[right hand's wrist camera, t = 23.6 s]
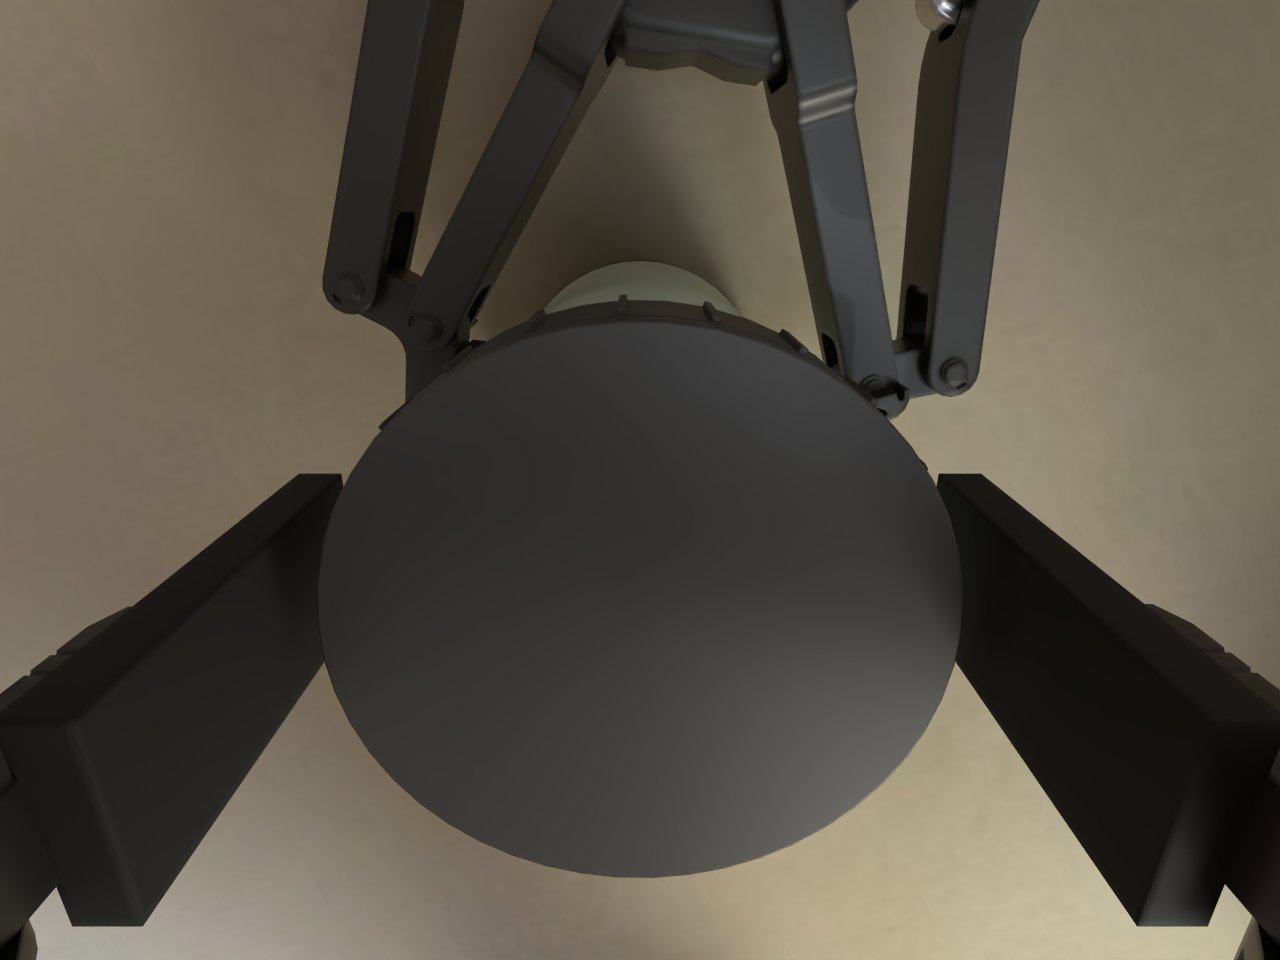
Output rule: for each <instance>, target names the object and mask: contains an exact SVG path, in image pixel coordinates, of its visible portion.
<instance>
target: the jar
mask: <svg viewBox="0 0 1280 960" xmlns="http://www.w3.org/2000/svg"><path fill="white" fill-rule="evenodd" d="M620 295H627V300H663V301H672V302H678V303H685V304H692V305H698V306H703V303H704V301H707V302H711V303H712V305H713V306H714V308H715V309H716V310H719V311H723V312H726V313H729V314H733V315H736V316H740V317H743V316H742V315H741V314H740V313H739V312H738V311H737V310H736V309H735V308H734V306H733V305H732V304H731V303H730V302H729V301H728V300H727V299H726V298H725V297H724V296H723V295H722V294H721V293H720V292H719V291H718V290H717V289H716V288H715V287H713V286H712V285H710V284H709V283H708V282H706V281H705V280H703V279H702V278H700V277H698V276H696V275H694V274H692V273H690V272H689V271H686V270H683V269H681V268H678V267H675V266H672V265H667V264H663V263H658V262H647V261H634V262H622V263H617V264H612V265H608V266H605V267H602V268H599V269H596V270H594V271H592V272H590V273H588V274H586V275H584V276H582V277H580V278H578V279H577V280H575V281H574V282H572V283H571V284H570V285H568V286H567V287H565V288H564V289H563V290H562V291H561V292H560V293H559V294H558V295H557V296H556V297H555V298H554V299H553V300H552V301H551V302H550V303H549V304H548V305H547V306H546V307H545V309H544V311H545V313H546V314H549V313H553V312H557V311H561V310H565V309H569V308H572V307H576V306H580V305H585V304H594V303H602V302H611V301H618V300H619V296H620Z"/></svg>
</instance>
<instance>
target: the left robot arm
mask: <svg viewBox="0 0 1280 960" xmlns="http://www.w3.org/2000/svg"><path fill="white" fill-rule="evenodd" d="M857 1H858V0H553V2H552V4H551V6H550V8H549V10H548V12H547V14H546V16H545V18H544V20H543V22H542V24H541V26H540V29H539V31H538V33H537V36H536V39H535V43H534V48H533V52H532V55H531V57H530V60H529V62H528V64H527V66H526V68H525V70H524V72H523V74H522V76H521V78H520V80H519V82H518V84H517V86H516V88H515V90H514V92H513V94H512V96H511V98H510V100H509V102H508V104H507V106H506V108H505V110H504V112H503V114H502V116H501V118H500V120H499V122H498V124H497V126H496V128H495V130H494V132H493V134H492V136H491V139H490V141H489V143H488V145H487V147H486V149H485V151H484V153H483V155H482V157H481V159H480V161H479V163H478V165H477V167H476V169H475V171H474V173H473V175H472V177H471V179H470V181H469V183H468V185H467V187H466V189H465V191H464V193H463V195H462V197H461V199H460V201H459V203H458V205H457V207H456V209H455V211H454V213H453V215H452V217H451V219H450V221H449V223H448V225H447V227H446V229H445V231H444V233H443V235H442V237H441V239H440V241H439V243H438V245H437V247H436V249H435V251H434V253H433V255H432V257H431V259H430V261H429V263H428V265H427V267H426V269H425V271H424V273H423V275H422V276H420V275H418V274H416V273H414V272H412V271H410V266H411V261H412V256H413V251H414V246H415V241H416V237H417V232H418V227H419V222H420V217H421V212H422V207H423V203H424V198H425V193H426V188H427V183H428V178H429V173H430V169H431V164H432V159H433V154H434V149H435V144H436V139H437V135H438V130H439V125H440V120H441V115H442V110H443V105H444V101H445V96H446V91H447V86H448V81H449V76H450V71H451V67H452V62H453V57H454V52H455V47H456V42H457V37H458V33H459V28H460V23H461V18H462V13H463V6H464V0H368V5H367V11H366V17H365V24H364V30H363V36H362V42H361V48H360V54H359V60H358V66H357V72H356V78H355V84H354V91H353V97H352V103H351V109H350V115H349V121H348V127H347V133H346V139H345V145H344V151H343V157H342V164H341V170H340V176H339V182H338V188H337V194H336V200H335V206H334V212H333V218H332V224H331V231H330V237H329V243H328V249H327V255H326V261H325V267H324V273H323V279H322V280H323V291H324V294H325V296H326V299H327V300H328V302H329V303H330V304H331V305H332V306H333V307H334V308H335V309H337V310H339V311H341V312H343V313H346V314H354V315H355V314H360V315H362V316H364V317H366V318H368V319H370V320H372V321H374V322H376V323H378V324H380V325H382V326H384V327H386V328H387V329H389V330H390V331H392V332H393V333H394V334H395V335H396V336H397V337H398V338H399V340H400V341H401V343H402V345H403V347H404V350H405V353H406V397H405V403H406V402H407V401H408V400H409V399H410V398H411V397H414V398H415V397H416V396H417V395H418V394H419V393H421V392H422V391H423V390H424V389H425V388H426V387H427V386H429V385H430V384H431V383H432V382H433V381H434V380H436V379H437V378H438V377H439V376H440V375H441V374H443V373H444V372H443V371H442V369H441V368H442V367H443V366H444V365H446V364H447V363H448V362H449V361H450V360H452V359H453V358H454V357H455V356H456V355H458V354H459V353H460V352H461V351H462V350H464V349H465V348H466V347H468V346H469V345H471V346H472V347H473V349H475V348H477V347H478V346H480V345H482V344H483V343H485V342H486V341H479V340H472V341H471V342H470V343H469V336H470V329H471V328H472V327H473V326H474V325H475V324H476V323H477V321H478V320H477V319H476V317H477V315H478V313H479V311H480V310H481V308H482V306H483V304H484V302H485V300H486V298H487V296H488V295H489V293H490V291H491V289H492V287H493V285H494V283H495V282H496V280H497V278H498V276H499V274H500V272H501V270H502V268H503V267H504V265H505V263H506V261H507V259H508V257H509V255H510V253H511V252H512V250H513V248H514V246H515V244H516V242H517V240H518V238H519V237H520V235H521V233H522V231H523V229H524V227H525V225H526V223H527V222H528V220H529V218H530V216H531V214H532V212H533V210H534V208H535V207H536V205H537V203H538V201H539V199H540V197H541V195H542V193H543V192H544V190H545V188H546V186H547V184H548V182H549V180H550V178H551V177H552V175H553V173H554V171H555V169H556V167H557V165H558V163H559V162H560V160H561V158H562V156H563V154H564V152H565V150H566V149H567V147H568V145H569V143H570V141H571V139H572V137H573V135H574V134H575V132H576V130H577V128H578V126H579V124H580V122H581V120H582V119H583V117H584V115H585V113H586V111H587V109H588V108H589V106H590V104H591V103H592V101H593V100H594V99H595V98H596V96H597V95H598V93H599V91H600V90H601V88H602V86H603V84H604V82H605V81H606V79H607V77H608V75H609V73H610V71H611V69H612V67H613V66H614V64H615V62H616V60H617V58H618V57H620V58H622V59H624V60H625V64H626V66H632V67H639V68H645V69H651V70H665V69H672V68H679V67H686V66H694V67H696V68H698V69H701V70H703V71H705V72H707V73H709V74H711V75H713V76H715V77H717V78H719V79H721V80H723V81H727V82H733V83H740V84H746V85H752V86H756V85H757V84H758V83H759V82H760V81H763V83H764V88H765V93H766V98H767V103H768V108H769V113H770V117H771V120H772V123H773V126H774V128H775V130H776V132H777V135H778V139H779V143H780V148H781V153H782V158H783V163H784V168H785V173H786V178H787V183H788V188H789V193H790V198H791V203H792V209H793V214H794V219H795V224H796V229H797V234H798V239H799V244H800V249H801V254H802V259H803V264H804V269H805V274H806V279H807V284H808V289H809V294H810V299H811V304H812V309H813V314H814V319H815V324H816V329H817V334H818V339H819V344H820V349H821V354H822V359H823V362H824V363H825V364H826V365H827V366H828V367H829V368H831V369H832V370H833V371H834V372H835V373H837V374H838V375H839V376H840V377H841V378H842V379H843V378H844V377H845V376H846V375H848V376H849V377H850V378H851V379H853V380H854V381H855V382H856V383H857V384H859V385H860V386H861V387H862V388H863V389H865V390H866V391H867V392H868V393H869V394H871V395H872V396H873V397H874V398H875V399H876V400H877V401H878V402H879V404H878V405H877V406H876V408H877V409H878V410H879V411H880V412H881V413H883V414H884V416H885V417H886V418H887V419H888V420H891V419H893V418H895V417H897V416H898V415H899V414H900V413H901V412H902V411H903V410H904V409H905V408H906V406H907V404H908V401H909V399H911V398H916V397H921V396H926V395H931V394H936V393H939V394H940V395H942V396H949V397H953V396H957V395H961V394H963V393H964V392H966V391H967V390H969V389H970V388H971V387H972V385H973V384H974V383H975V381H976V379H977V376H978V373H979V368H980V361H981V353H982V345H983V338H984V330H985V322H986V315H987V307H988V299H989V291H990V284H991V276H992V268H993V261H994V253H995V245H996V238H997V230H998V222H999V215H1000V207H1001V199H1002V192H1003V184H1004V176H1005V169H1006V161H1007V153H1008V145H1009V138H1010V130H1011V122H1012V115H1013V107H1014V99H1015V92H1016V84H1017V76H1018V69H1019V61H1020V53H1021V46H1022V40H1023V37H1024V35H1025V33H1026V30H1027V28H1028V26H1029V24H1030V21H1031V19H1032V17H1033V15H1034V12H1035V10H1036V8H1037V6H1038V3H1039V1H1040V0H916V3H915V5H916V13H917V16H918V18H919V21H920V22H921V23H922V24H923V26H924V27H926V28H927V29H929V30H931V32H930V35H929V38H928V41H927V44H926V48H925V52H924V57H923V61H922V65H921V72H920V79H919V86H918V97H917V108H916V120H915V131H914V143H913V154H912V166H911V178H910V189H909V201H908V212H907V224H906V235H905V247H904V258H903V270H902V281H901V293H900V305H899V316H898V328H897V339H896V340H892V337H891V331H890V324H889V318H888V312H887V306H886V300H885V294H884V288H883V281H882V275H881V269H880V263H879V257H878V251H877V244H876V238H875V232H874V226H873V220H872V214H871V208H870V201H869V195H868V189H867V183H866V177H865V171H864V165H863V158H862V152H861V146H860V140H859V134H858V128H857V121H856V115H855V99H856V93H857V78H856V70H855V63H854V57H853V51H852V44H851V38H850V32H849V26H848V19H847V12H848V11H849V10H850V9H851V8H852V7H853V6H854V5H855V4H856V3H857Z"/></svg>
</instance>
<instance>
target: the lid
mask: <svg viewBox="0 0 1280 960" xmlns="http://www.w3.org/2000/svg"><path fill="white" fill-rule="evenodd" d="M441 369H442V371H443V372H444V373H443V374H441V375H440V376H439V377H438V378H437V379H436V380H434V381H433V382H432V383H431V384H430V385H429V386H427V387H426V388H425V389H424V390H423V391H422V392H421V393H419V394H418V395H417V396H416V397H415V398H414V397H411V398H410V399H409V400H408V401H407V402H406V403H404V404H403V405H402V406H401V407H400V408H399V409H397V410H396V411H395V412H394V413H393V414H392V415H390V416H389V417H388V418H387V419H386V420H385V421H383V422H382V423H381V425H380V426H379V429H381V430H382V431H381V432H380V433H379V434H378V435H377V436H376V437H375V438H374V440H373V441H372V442H371V444H370V445H369V447H368V448H367V450H366V451H365V453H364V454H363V456H362V457H361V458H360V460H359V461H358V463H357V464H356V466H355V467H354V469H353V470H352V471H351V473H350V475H349V477H348V479H347V481H346V483H345V485H344V487H343V489H342V491H341V493H340V496H339V498H338V500H337V502H336V504H335V506H334V508H333V511H332V514H331V517H330V521H329V524H328V527H327V531H326V534H325V537H324V541H323V544H322V548H321V555H320V563H319V570H318V577H317V623H318V629H319V635H320V641H321V647H322V652H323V658H324V661H325V664H326V667H327V670H328V673H329V676H330V679H331V682H332V685H333V689H334V692H335V694H336V696H337V698H338V700H339V702H340V704H341V706H342V708H343V710H344V712H345V714H346V716H347V718H348V720H349V722H350V724H351V725H352V727H353V728H354V730H355V731H356V733H357V734H358V736H359V737H360V739H361V740H362V742H363V743H364V745H365V746H366V748H367V749H368V751H369V752H370V754H371V755H372V756H373V757H374V758H375V759H376V761H377V762H378V763H379V764H380V765H381V766H382V767H383V769H384V770H385V771H386V772H387V773H388V774H389V775H390V777H391V778H392V779H393V780H394V781H395V782H396V783H397V784H399V785H400V786H401V787H402V788H403V789H404V790H405V791H406V792H407V793H409V794H410V795H411V796H412V797H413V798H414V799H415V800H416V801H417V802H419V803H420V804H421V805H423V806H424V807H425V808H427V809H428V810H430V811H431V812H432V813H434V814H435V815H437V816H438V817H439V818H441V819H442V820H444V821H445V822H446V823H448V824H449V825H451V826H453V827H455V828H457V829H458V830H460V831H462V832H464V833H466V834H467V835H469V836H471V837H473V838H474V839H476V840H478V841H480V842H482V843H485V844H487V845H489V846H492V847H494V848H496V849H499V850H501V851H503V852H506V853H508V854H510V855H513V856H516V857H519V858H522V859H525V860H529V861H532V862H535V863H538V864H541V865H545V866H548V867H553V868H558V869H563V870H568V871H573V872H577V873H582V874H592V875H601V876H610V877H637V878H656V877H668V876H679V875H690V874H696V873H701V872H707V871H712V870H718V869H723V868H727V867H731V866H734V865H738V864H741V863H745V862H748V861H752V860H755V859H758V858H761V857H764V856H766V855H769V854H771V853H774V852H776V851H779V850H781V849H784V848H786V847H789V846H791V845H793V844H795V843H797V842H799V841H801V840H803V839H805V838H807V837H809V836H811V835H812V834H814V833H816V832H818V831H820V830H822V829H824V828H825V827H827V826H828V825H830V824H831V823H833V822H834V821H836V820H837V819H839V818H840V817H842V816H843V815H845V814H846V813H848V812H849V811H851V810H852V809H854V808H855V807H856V806H857V805H858V804H860V803H861V802H862V801H863V800H864V799H865V798H867V797H868V796H869V795H870V794H871V793H872V792H874V791H875V790H876V789H877V788H878V787H879V786H881V785H882V783H883V782H884V781H885V780H886V779H887V778H888V777H889V776H890V775H891V774H892V773H893V772H894V770H895V769H896V768H897V767H898V766H899V765H900V764H901V763H902V762H903V761H904V760H905V758H906V757H907V756H908V754H909V753H910V751H911V750H912V749H913V747H914V746H915V744H916V743H917V742H918V740H919V739H920V737H921V736H922V735H923V733H924V732H925V730H926V728H927V726H928V725H929V723H930V721H931V719H932V717H933V715H934V713H935V711H936V710H937V708H938V706H939V704H940V702H941V700H942V698H943V695H944V692H945V690H946V687H947V684H948V681H949V679H950V676H951V673H952V670H953V667H954V664H955V659H956V654H957V650H958V645H959V640H960V635H961V630H962V611H963V583H962V573H961V564H960V554H959V551H958V547H957V543H956V539H955V535H954V532H953V528H952V524H951V520H950V517H949V515H948V512H947V510H946V508H945V506H944V503H943V501H942V499H941V496H940V494H939V492H938V490H937V487H936V485H935V483H934V481H933V479H932V478H931V476H930V474H929V473H928V471H927V470H928V468H927V466H926V464H925V463H924V462H923V461H922V460H921V459H920V458H919V457H918V456H917V454H916V453H915V451H914V449H913V448H912V446H911V445H910V444H909V443H908V442H907V441H906V439H905V438H904V437H903V436H902V435H901V434H900V433H899V431H898V430H897V429H896V428H895V427H894V426H893V425H892V424H891V422H890V421H889V420H888V419H887V418H886V417H885V416H884V414H883V413H881V412H880V411H879V410H878V409H877V408H876V406H877V405H878V404H879V402H878V401H877V400H876V399H875V398H874V397H873V396H872V395H871V394H869V393H868V392H867V391H866V390H865V389H863V388H862V387H861V386H860V385H859V384H857V383H856V382H855V381H854V380H853V379H851V378H850V377H849V376H848V375H846V376H845V377H844V378H843V379H842V378H841V377H840V376H839V375H838V374H837V373H835V372H834V371H833V370H832V369H831V368H829V367H828V366H827V365H826V364H825V363H824V362H822V361H821V360H820V359H819V358H818V357H816V356H815V355H814V354H812V353H811V352H809V351H808V349H807V348H806V347H805V346H804V345H803V344H801V343H800V342H799V341H798V340H797V339H796V338H795V337H793V336H792V335H791V334H790V333H789V332H788V331H786V330H784V329H782V330H781V332H780V333H777V332H775V331H773V330H771V329H768V328H766V327H764V326H762V325H759V324H757V323H755V322H753V321H751V320H748V319H746V318H743V317H740V316H736V315H733V314H729V313H726V312H723V311H719V310H716V309H715V308H714V306H713V305H712V303H711V302H707V301H704V303H703V306H698V305H692V304H685V303H678V302H672V301H663V300H627V295H620V296H619V300H618V301H611V302H602V303H594V304H585V305H580V306H576V307H572V308H569V309H565V310H561V311H557V312H553V313H549V314H546V313H545V311H544V310H540V311H538V312H537V313H536V314H535V315H534V316H533V317H532V318H531V319H530V320H529V321H528V322H525V323H523V324H520V325H518V326H515V327H513V328H510V329H508V330H506V331H504V332H502V333H501V334H499V335H497V336H495V337H494V338H492V339H490V340H489V341H487V342H485V343H483V344H482V345H480V346H478V347H477V348H475V349H473V347H472V346H471V345H469V346H468V347H466V348H465V349H464V350H462V351H461V352H460V353H459V354H458V355H456V356H455V357H454V358H453V359H452V360H450V361H449V362H448V363H447V364H446V365H444V366H443V367H442V368H441Z"/></svg>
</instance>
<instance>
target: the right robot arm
mask: <svg viewBox="0 0 1280 960" xmlns="http://www.w3.org/2000/svg"><path fill="white" fill-rule="evenodd" d="M342 489H343V481H342V475H341V474H298V475H297V476H296V477H294V478H293V479H292V480H291V481H289V482H288V483H287V484H286V485H284V486H283V487H282V488H281V489H279V490H278V491H277V492H276V493H274V494H273V495H272V496H270V497H269V498H268V499H267V500H265V501H264V502H263V503H262V504H260V505H259V506H258V507H257V508H255V509H254V510H253V511H252V512H250V513H249V514H248V515H247V516H245V517H244V518H243V519H242V520H240V521H239V522H238V523H237V524H235V525H234V526H233V527H232V528H230V529H229V530H228V531H227V532H225V533H224V534H223V535H222V536H220V537H219V538H218V539H217V540H215V541H214V542H213V543H212V544H210V545H209V546H208V547H207V548H205V549H204V550H203V551H202V552H200V553H199V554H198V555H197V556H195V557H194V558H193V559H192V560H190V561H189V562H188V563H187V564H185V565H184V566H183V567H182V568H180V569H179V570H178V571H177V572H175V573H174V574H173V575H171V576H170V577H169V578H168V579H166V580H165V581H164V582H163V583H161V584H160V585H159V586H158V587H156V588H155V589H154V590H153V591H151V592H150V593H149V594H148V595H146V596H145V597H144V598H143V599H141V600H140V601H139V602H138V603H136V604H135V605H134V606H133V607H127V608H125V609H123V610H121V611H118V612H116V613H114V614H112V615H110V616H108V617H106V618H104V619H102V620H100V621H98V622H96V623H94V624H92V625H90V626H88V627H87V628H85V629H84V630H83V631H81V632H80V633H79V634H78V635H76V636H75V637H74V638H72V639H71V640H70V641H68V642H67V643H66V644H65V645H63V646H62V647H61V648H59V649H58V650H57V654H56V655H50V656H49V657H48V658H46V659H45V660H44V661H42V662H41V663H40V664H39V665H37V666H36V667H35V668H33V669H32V670H31V674H30V676H23V677H22V678H20V679H19V680H18V681H16V682H15V683H14V684H13V685H11V686H10V687H9V688H7V689H6V690H5V691H3V692H2V693H1V694H0V960H36V956H37V950H38V949H37V943H36V937H35V932H34V930H33V928H32V925H31V923H30V921H29V918H30V917H31V916H32V914H33V913H34V912H35V911H36V910H37V909H38V907H39V906H40V905H41V904H42V903H43V902H44V900H45V899H46V898H47V897H48V896H49V895H50V893H51V892H52V891H53V890H54V889H55V887H57V890H58V892H59V895H60V897H61V900H62V902H63V904H64V907H65V909H66V912H67V914H68V917H69V919H70V922H71V924H72V926H143V925H144V924H145V922H146V921H147V919H148V918H149V917H150V915H151V914H152V912H153V911H154V909H155V908H156V906H157V905H158V903H159V902H160V900H161V899H162V898H163V896H164V895H165V893H166V892H167V890H168V889H169V887H170V886H171V884H172V883H173V882H174V880H175V879H176V877H177V876H178V874H179V873H180V871H181V870H182V868H183V867H184V865H185V864H186V863H187V861H188V860H189V858H190V857H191V855H192V854H193V852H194V851H195V849H196V848H197V847H198V845H199V844H200V842H201V841H202V839H203V838H204V836H205V835H206V833H207V832H208V831H209V829H210V828H211V826H212V825H213V823H214V822H215V820H216V819H217V817H218V816H219V814H220V813H221V812H222V810H223V809H224V807H225V806H226V804H227V803H228V801H229V800H230V798H231V797H232V796H233V794H234V793H235V791H236V790H237V788H238V787H239V785H240V784H241V782H242V781H243V780H244V778H245V777H246V775H247V774H248V772H249V771H250V769H251V768H252V766H253V765H254V763H255V762H256V761H257V759H258V758H259V756H260V755H261V753H262V752H263V750H264V749H265V747H266V746H267V745H268V743H269V742H270V740H271V739H272V737H273V736H274V734H275V733H276V731H277V730H278V729H279V727H280V726H281V724H282V723H283V721H284V720H285V718H286V717H287V715H288V714H289V712H290V711H291V710H292V708H293V707H294V705H295V704H296V702H297V701H298V699H299V698H300V696H301V695H302V694H303V692H304V691H305V689H306V688H307V686H308V685H309V683H310V682H311V680H312V679H313V677H314V676H315V675H316V673H317V672H318V670H319V669H320V667H321V666H322V664H323V663H324V658H323V652H322V647H321V641H320V635H319V629H318V623H317V577H318V570H319V563H320V555H321V548H322V544H323V541H324V537H325V534H326V531H327V527H328V524H329V521H330V517H331V514H332V511H333V508H334V506H335V504H336V502H337V500H338V498H339V496H340V493H341V491H342ZM937 490H938V492H939V494H940V496H941V499H942V501H943V503H944V506H945V508H946V510H947V512H948V515H949V517H950V520H951V524H952V528H953V532H954V535H955V539H956V543H957V547H958V551H959V554H960V564H961V573H962V583H963V611H962V630H961V635H960V640H959V645H958V650H957V654H956V659H955V661H956V663H957V664H958V666H959V667H960V669H961V670H962V672H963V673H964V675H965V676H966V677H967V679H968V680H969V682H970V683H971V685H972V686H973V688H974V689H975V691H976V692H977V694H978V695H979V696H980V698H981V699H982V701H983V702H984V704H985V705H986V707H987V708H988V710H989V711H990V712H991V714H992V715H993V717H994V718H995V720H996V721H997V723H998V724H999V726H1000V727H1001V729H1002V730H1003V731H1004V733H1005V734H1006V736H1007V737H1008V739H1009V740H1010V742H1011V743H1012V745H1013V746H1014V747H1015V749H1016V750H1017V752H1018V753H1019V755H1020V756H1021V758H1022V759H1023V761H1024V762H1025V763H1026V765H1027V766H1028V768H1029V769H1030V771H1031V772H1032V774H1033V775H1034V777H1035V778H1036V780H1037V781H1038V782H1039V784H1040V785H1041V787H1042V788H1043V790H1044V791H1045V793H1046V794H1047V796H1048V797H1049V798H1050V800H1051V801H1052V803H1053V804H1054V806H1055V807H1056V809H1057V810H1058V812H1059V813H1060V814H1061V816H1062V817H1063V819H1064V820H1065V822H1066V823H1067V825H1068V826H1069V828H1070V829H1071V831H1072V832H1073V833H1074V835H1075V836H1076V838H1077V839H1078V841H1079V842H1080V844H1081V845H1082V847H1083V848H1084V849H1085V851H1086V852H1087V854H1088V855H1089V857H1090V858H1091V860H1092V861H1093V863H1094V864H1095V865H1096V867H1097V868H1098V870H1099V871H1100V873H1101V874H1102V876H1103V877H1104V879H1105V880H1106V882H1107V883H1108V884H1109V886H1110V887H1111V889H1112V890H1113V892H1114V893H1115V895H1116V896H1117V898H1118V899H1119V900H1120V902H1121V903H1122V905H1123V906H1124V908H1125V909H1126V911H1127V912H1128V914H1129V915H1130V917H1131V918H1132V919H1133V921H1134V922H1135V924H1136V925H1137V926H1208V924H1209V922H1210V919H1211V917H1212V914H1213V912H1214V909H1215V907H1216V904H1217V902H1218V900H1219V897H1220V895H1221V892H1222V890H1223V887H1224V885H1225V884H1226V886H1227V887H1228V888H1229V889H1230V890H1231V891H1232V893H1233V894H1234V895H1235V896H1236V897H1237V898H1238V900H1239V901H1240V902H1241V903H1242V904H1243V905H1244V907H1245V908H1246V909H1247V910H1248V911H1249V912H1250V914H1251V915H1252V919H1251V921H1250V923H1249V925H1248V928H1247V930H1246V932H1245V935H1244V937H1243V939H1242V942H1241V944H1240V946H1239V949H1238V951H1237V953H1236V955H1235V958H1234V960H1280V690H1279V689H1278V688H1276V687H1275V686H1274V685H1272V684H1271V683H1270V682H1268V681H1267V680H1266V679H1264V678H1263V677H1262V676H1261V675H1259V674H1258V673H1251V671H1250V667H1249V666H1247V665H1246V664H1245V663H1244V662H1242V661H1241V660H1240V659H1238V658H1237V657H1236V656H1234V655H1233V654H1232V653H1225V651H1224V647H1223V646H1221V645H1220V644H1219V643H1217V642H1216V641H1215V640H1213V639H1212V638H1211V637H1209V636H1208V635H1207V634H1206V633H1204V632H1203V631H1202V630H1200V629H1199V628H1198V627H1196V626H1195V625H1194V624H1192V623H1190V622H1188V621H1186V620H1184V619H1182V618H1180V617H1178V616H1176V615H1174V614H1172V613H1170V612H1168V611H1165V610H1163V609H1161V608H1159V607H1157V606H1155V605H1153V604H1144V603H1142V602H1141V601H1140V600H1139V599H1137V598H1136V597H1135V596H1134V595H1132V594H1131V593H1130V592H1129V591H1127V590H1126V589H1125V588H1124V587H1122V586H1121V585H1120V584H1119V583H1117V582H1116V581H1115V580H1114V579H1112V578H1111V577H1110V576H1109V575H1107V574H1106V573H1105V572H1103V571H1102V570H1101V569H1100V568H1098V567H1097V566H1096V565H1095V564H1093V563H1092V562H1091V561H1090V560H1088V559H1087V558H1086V557H1085V556H1083V555H1082V554H1081V553H1080V552H1078V551H1077V550H1076V549H1075V548H1073V547H1072V546H1071V545H1070V544H1068V543H1067V542H1066V541H1065V540H1063V539H1062V538H1061V537H1060V536H1058V535H1057V534H1056V533H1055V532H1053V531H1052V530H1051V529H1050V528H1048V527H1047V526H1046V525H1045V524H1043V523H1042V522H1041V521H1040V520H1038V519H1037V518H1036V517H1035V516H1033V515H1032V514H1031V513H1030V512H1028V511H1027V510H1026V509H1025V508H1023V507H1022V506H1021V505H1020V504H1018V503H1017V502H1016V501H1015V500H1013V499H1012V498H1011V497H1010V496H1008V495H1007V494H1006V493H1004V492H1003V491H1002V490H1001V489H999V488H998V487H997V486H996V485H994V484H993V483H992V482H991V481H989V480H988V479H987V478H986V477H984V476H983V475H982V474H939V475H938V481H937Z"/></svg>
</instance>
